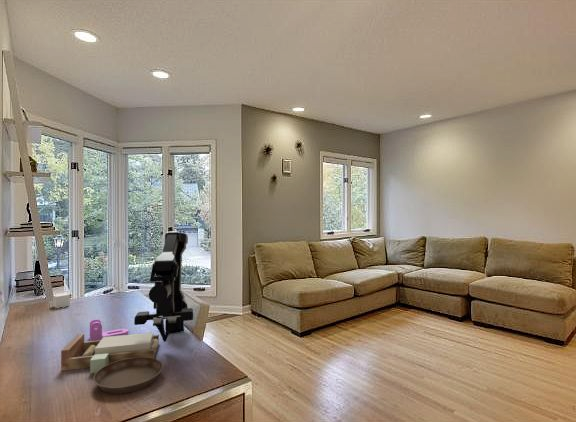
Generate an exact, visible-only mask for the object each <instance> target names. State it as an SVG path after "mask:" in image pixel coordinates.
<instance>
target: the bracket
mask: <svg viewBox="0 0 576 422" xmlns="http://www.w3.org/2000/svg"><path fill="white" fill-rule="evenodd" d="M121 335H129V329H128V328H119V329H113V330H108V331H103V326H102V321H101V319H99V318H93V319H92V320H91V321H90V322H89V341H97V340H102V338H103V337H110V336H121Z"/></svg>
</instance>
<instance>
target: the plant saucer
mask: <svg viewBox="0 0 576 422" xmlns="http://www.w3.org/2000/svg"><path fill="white" fill-rule="evenodd" d="M163 367H164V365H163V363H162V361H161V360H158V359H156V358H154V359H153V358H148V357H136V358H129V359H124V360H120V361H116V362H113V363H111V364H108V365H106V366H104V367H103V368H101V369H100V370H98V371H97V372H96V373H94V376H93V378H92V379H93V382H94V383H95V385H96V386H97V387H98V388H99V389H101V390H102V391H104V392H105V393H109V394H127V393H133V392H135V391H139V390H141V389H143V388H144V389H145V388H146V387H147V386H149V385H151V384H152V383H153V382H154V381H155V380H156V379H157V378H158V377H159V376H160V374H161V373H162V370H163V369H164V368H163Z"/></svg>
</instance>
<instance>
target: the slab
mask: <svg viewBox="0 0 576 422" xmlns="http://www.w3.org/2000/svg"><path fill="white" fill-rule="evenodd" d="M154 335H155V334H154V332H145V333H144V332H143V333H135V334H127V335H121V336H110V337H103V338H102V340H101V341H100V342H99V344H98V345H97V346H96V348H95V352H94V355H96V354H106V353H109V354H112V353H121V352H131V351H141V350H150V348H151V345H152V342H153V340H154Z"/></svg>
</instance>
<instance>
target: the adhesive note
mask: <svg viewBox="0 0 576 422" xmlns="http://www.w3.org/2000/svg"><path fill="white" fill-rule="evenodd" d="M70 299H71V294H70V293H68V292H64V293H57V294H53V295H52V307H53V308H54V307H55V308H54V309H56V308H57V309H61V308H60V307H62V308H67V307H66V306H68V307H70V306H71V303H70V302H71V300H70Z"/></svg>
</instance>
